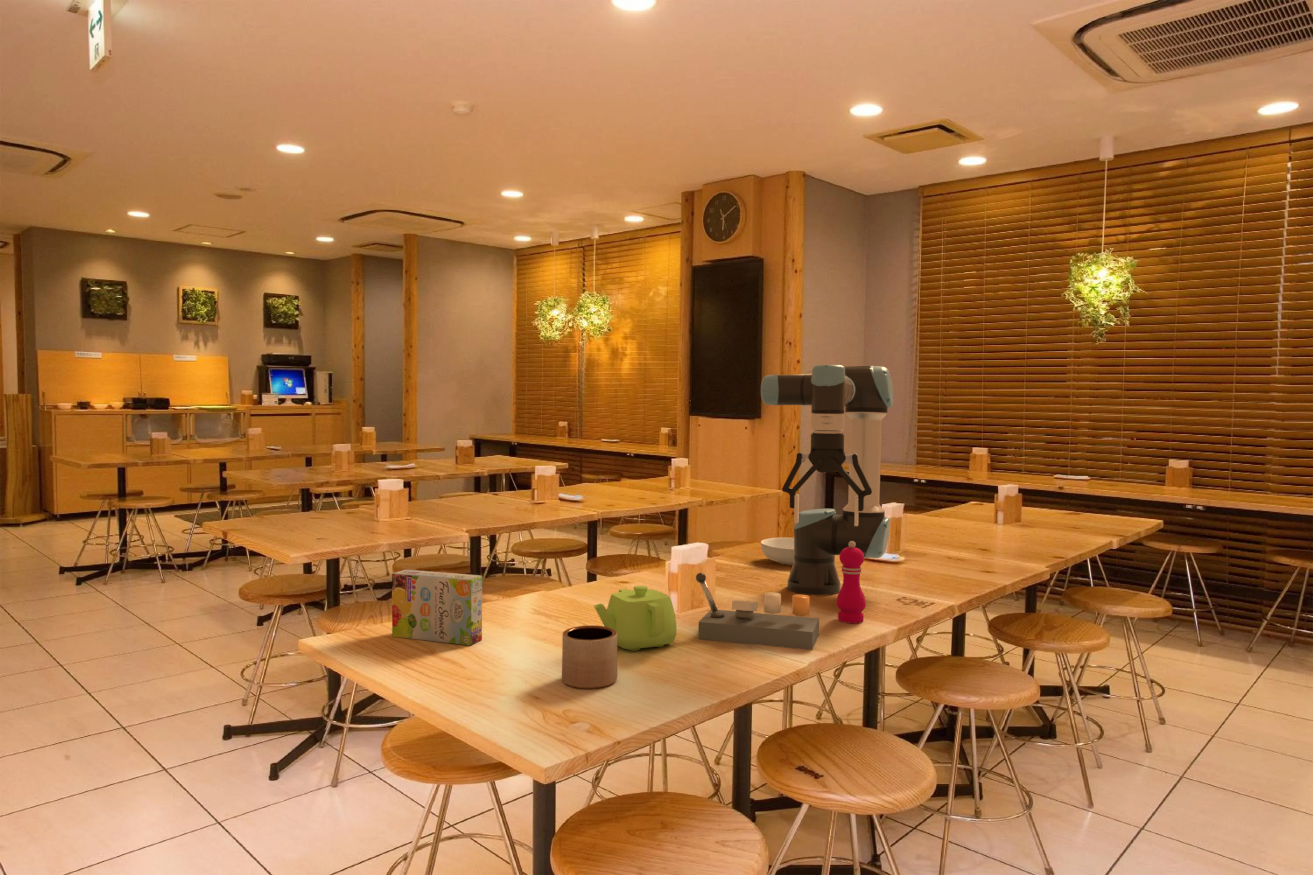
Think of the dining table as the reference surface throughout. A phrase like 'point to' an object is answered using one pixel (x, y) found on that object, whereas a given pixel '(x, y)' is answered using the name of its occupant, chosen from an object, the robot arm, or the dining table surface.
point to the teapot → (640, 618)
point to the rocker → (744, 605)
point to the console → (759, 629)
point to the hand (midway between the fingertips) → (826, 524)
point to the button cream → (772, 602)
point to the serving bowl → (779, 549)
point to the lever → (706, 591)
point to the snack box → (437, 606)
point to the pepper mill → (851, 586)
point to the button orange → (800, 605)
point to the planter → (589, 657)
